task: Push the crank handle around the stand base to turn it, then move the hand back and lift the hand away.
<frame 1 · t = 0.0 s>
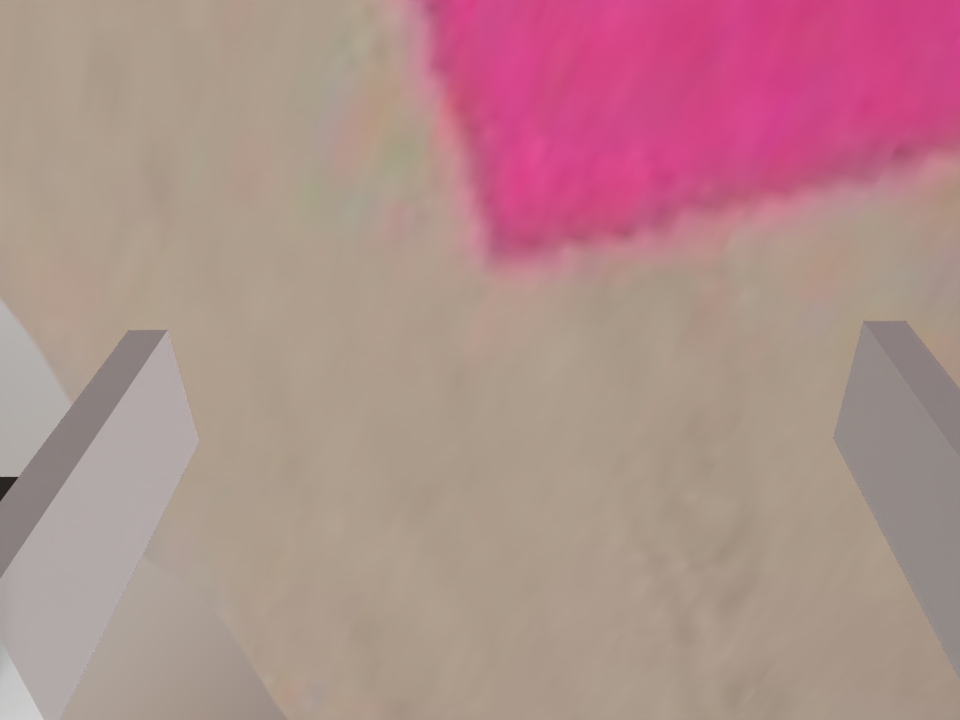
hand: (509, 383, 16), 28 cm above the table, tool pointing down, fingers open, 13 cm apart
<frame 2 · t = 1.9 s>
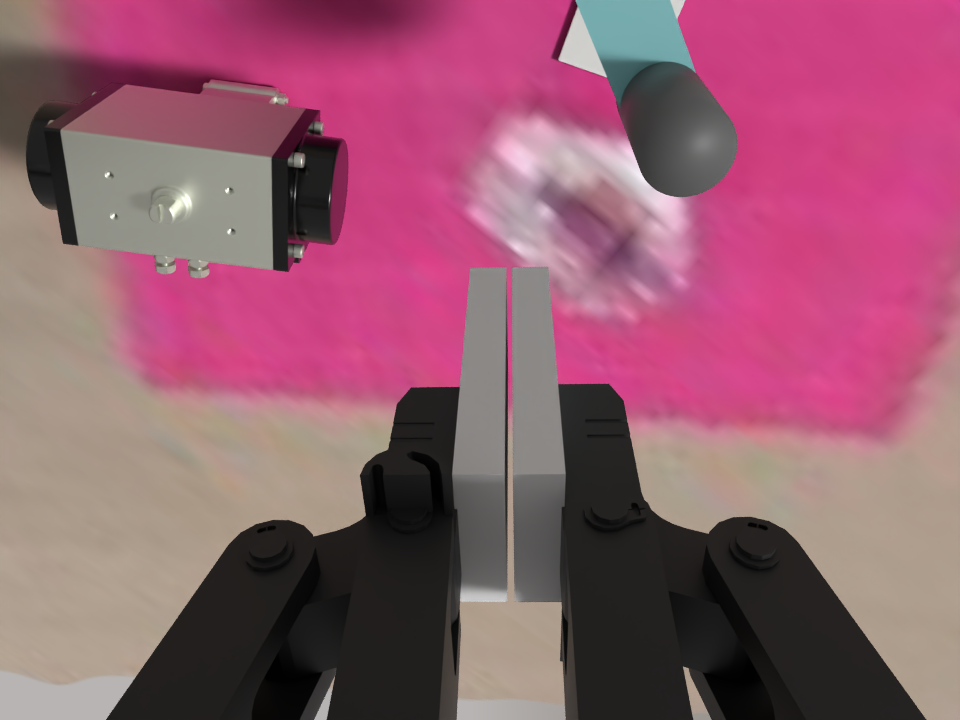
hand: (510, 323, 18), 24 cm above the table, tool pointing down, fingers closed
pneumatic valve: (249, 124, 41), on the table
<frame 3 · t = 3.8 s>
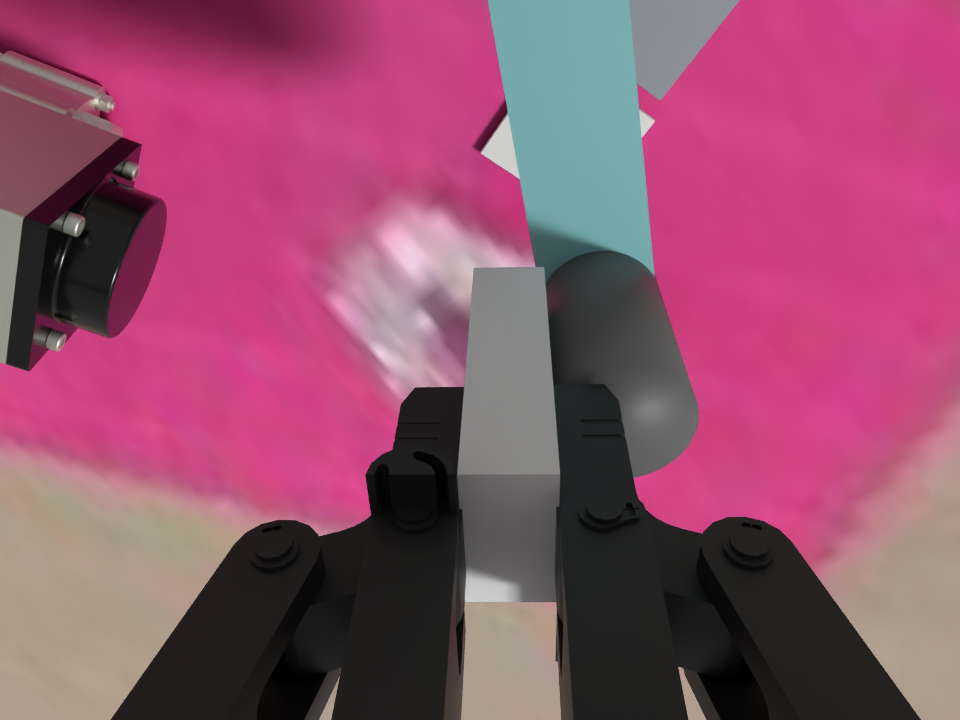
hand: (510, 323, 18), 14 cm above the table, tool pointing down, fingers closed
pneumatic valve: (56, 120, 30), on the table
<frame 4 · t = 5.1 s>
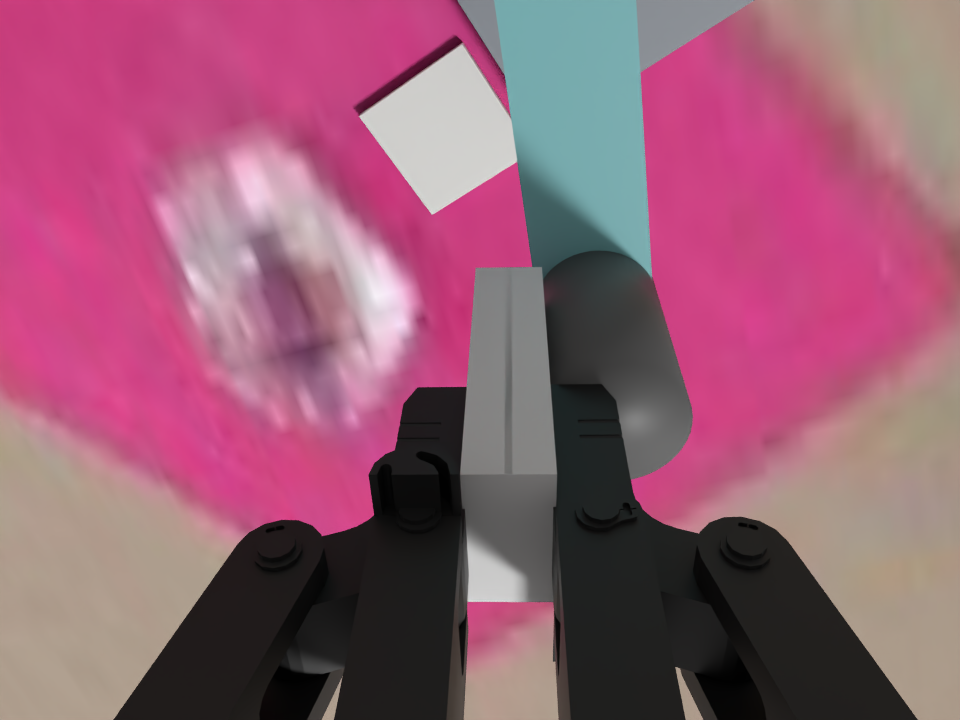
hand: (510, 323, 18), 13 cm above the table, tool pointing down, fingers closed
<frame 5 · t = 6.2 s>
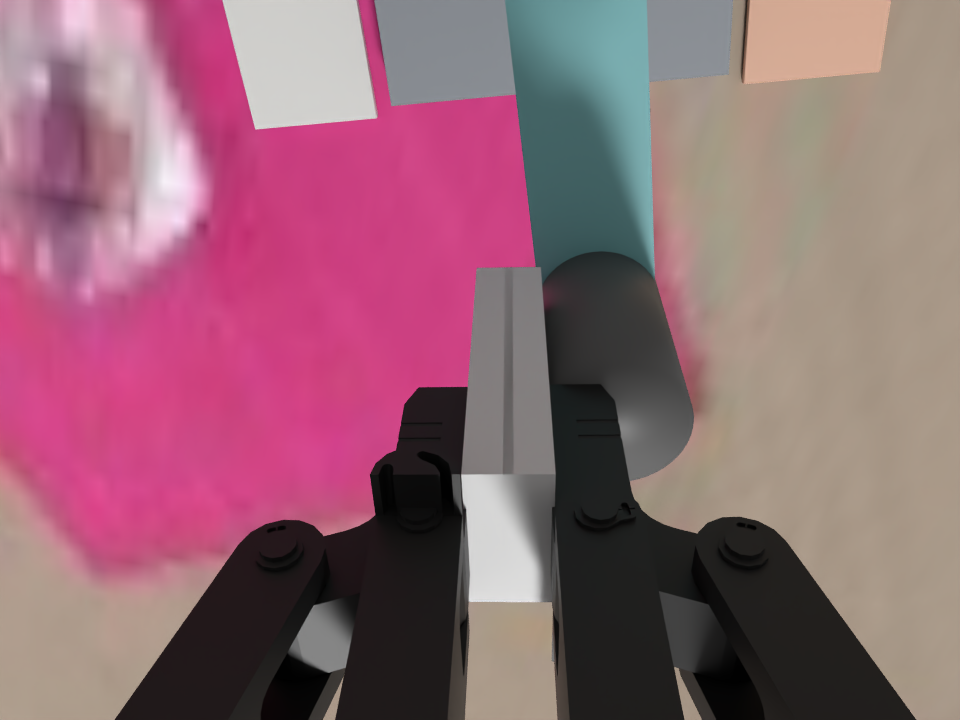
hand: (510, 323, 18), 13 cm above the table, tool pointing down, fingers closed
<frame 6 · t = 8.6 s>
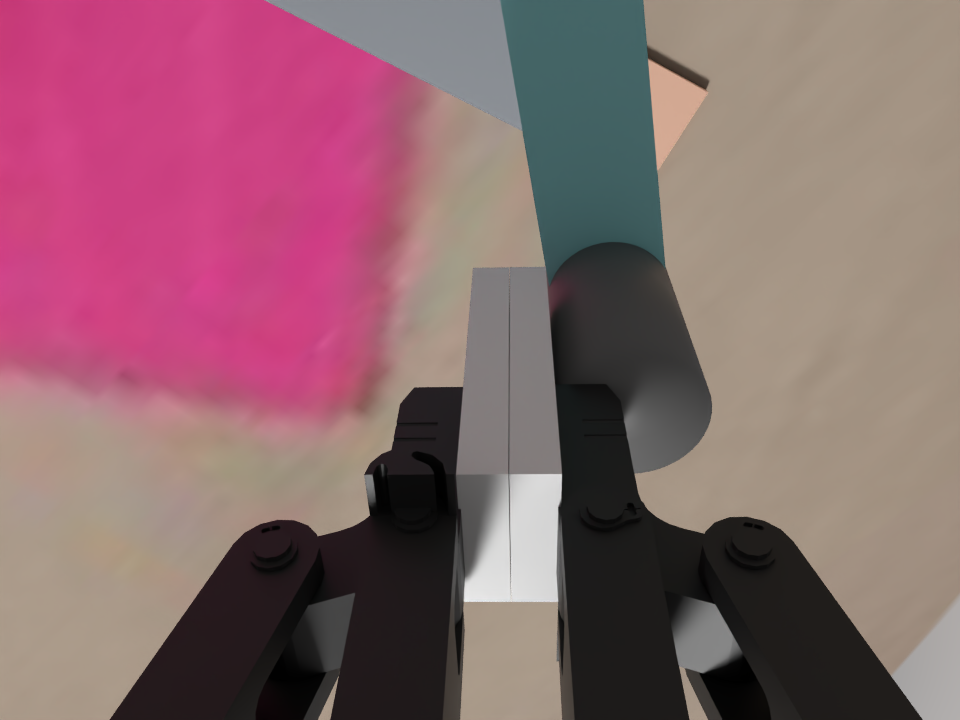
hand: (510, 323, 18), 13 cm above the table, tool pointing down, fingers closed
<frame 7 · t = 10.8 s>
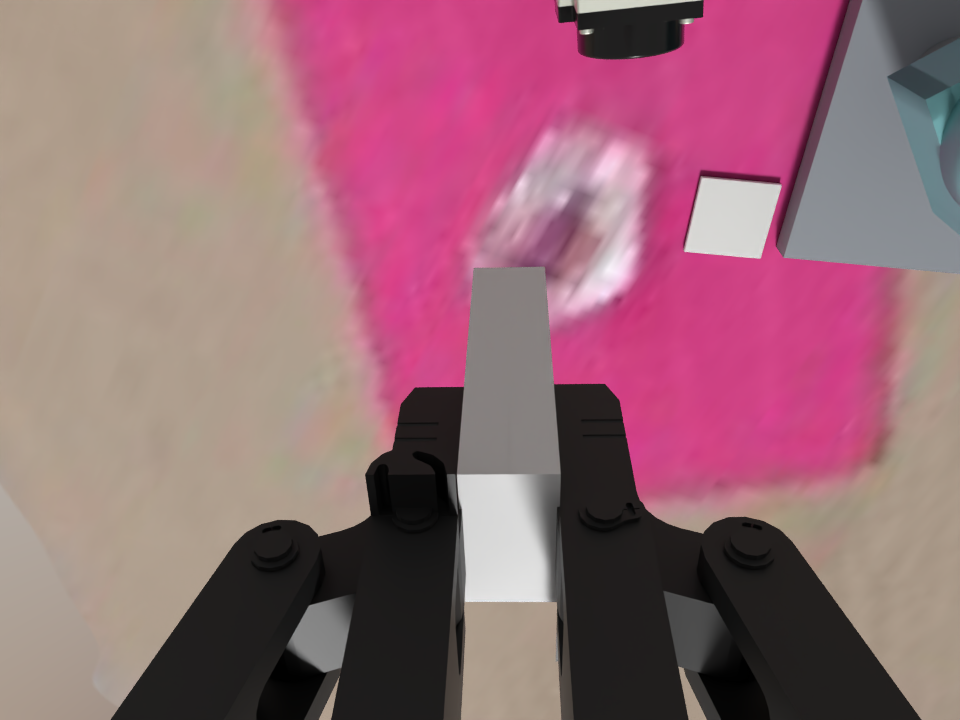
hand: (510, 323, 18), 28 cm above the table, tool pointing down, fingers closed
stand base: (936, 76, 42), on the table
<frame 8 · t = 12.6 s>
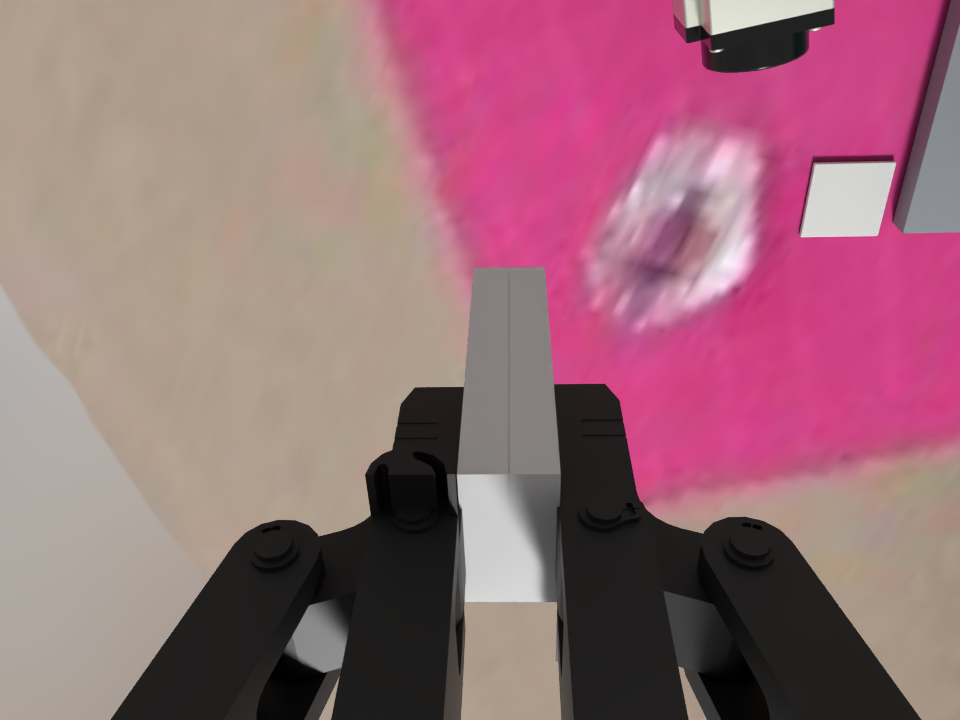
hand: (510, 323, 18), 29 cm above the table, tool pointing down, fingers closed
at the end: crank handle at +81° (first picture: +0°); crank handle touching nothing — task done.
